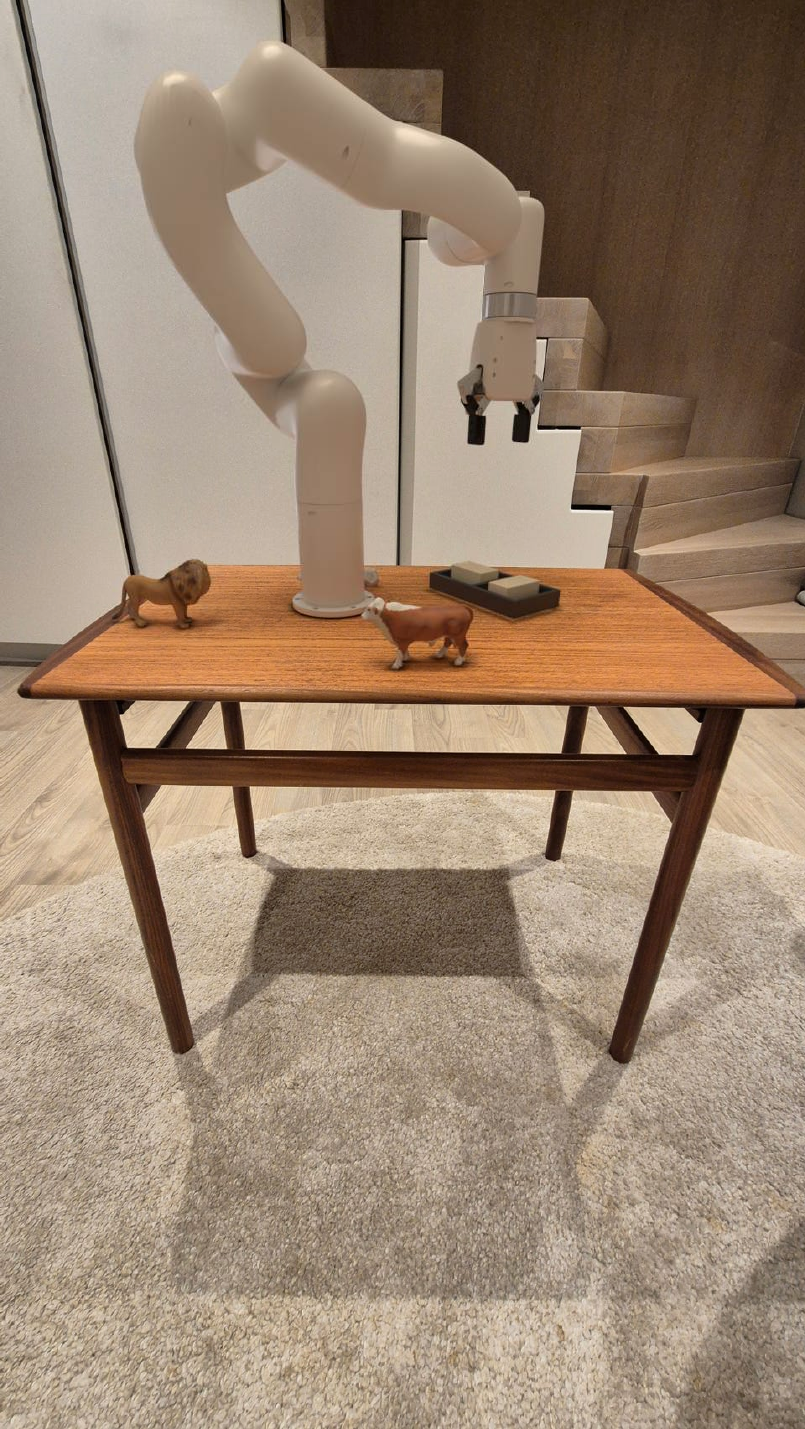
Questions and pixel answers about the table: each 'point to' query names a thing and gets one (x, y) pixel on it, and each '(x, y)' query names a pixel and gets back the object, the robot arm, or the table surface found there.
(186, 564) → the lion figurine
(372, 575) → the grey round piece
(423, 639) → the bull figurine
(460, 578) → the tan rectangular block
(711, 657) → the table surface
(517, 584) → the beige block
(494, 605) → the dark shallow tray
